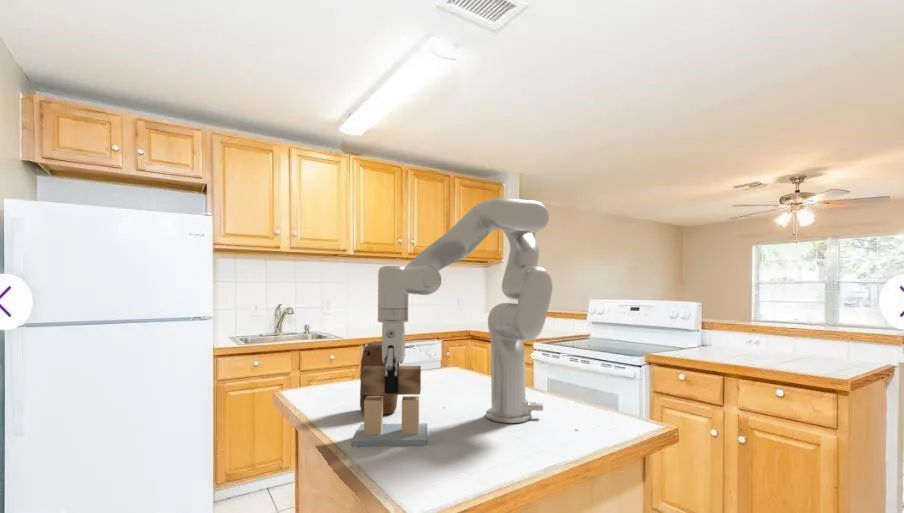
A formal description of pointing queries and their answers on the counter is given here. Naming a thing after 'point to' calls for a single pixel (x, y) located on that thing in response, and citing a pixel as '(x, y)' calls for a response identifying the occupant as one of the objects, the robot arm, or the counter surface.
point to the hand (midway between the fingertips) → (392, 389)
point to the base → (391, 425)
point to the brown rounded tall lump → (374, 358)
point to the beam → (376, 380)
